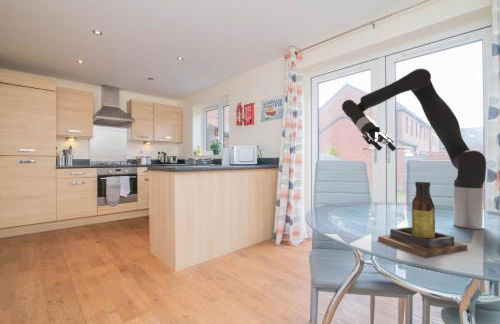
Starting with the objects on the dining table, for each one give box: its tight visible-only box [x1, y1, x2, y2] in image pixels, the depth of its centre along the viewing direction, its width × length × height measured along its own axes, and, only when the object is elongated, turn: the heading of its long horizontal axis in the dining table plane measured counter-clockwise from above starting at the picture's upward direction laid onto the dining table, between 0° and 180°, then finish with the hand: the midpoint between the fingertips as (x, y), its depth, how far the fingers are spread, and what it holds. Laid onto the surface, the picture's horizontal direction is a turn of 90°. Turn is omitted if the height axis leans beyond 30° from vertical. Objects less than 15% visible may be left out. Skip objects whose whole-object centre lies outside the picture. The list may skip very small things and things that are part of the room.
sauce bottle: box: [411, 181, 436, 240], centre depth 79 cm, size 6×6×20 cm
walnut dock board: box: [377, 226, 468, 259], centre depth 80 cm, size 20×16×4 cm
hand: (387, 149), depth 106 cm, fingers open, 8 cm apart
